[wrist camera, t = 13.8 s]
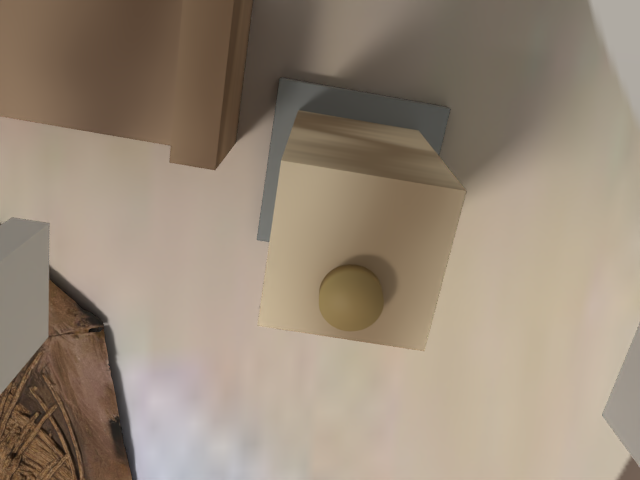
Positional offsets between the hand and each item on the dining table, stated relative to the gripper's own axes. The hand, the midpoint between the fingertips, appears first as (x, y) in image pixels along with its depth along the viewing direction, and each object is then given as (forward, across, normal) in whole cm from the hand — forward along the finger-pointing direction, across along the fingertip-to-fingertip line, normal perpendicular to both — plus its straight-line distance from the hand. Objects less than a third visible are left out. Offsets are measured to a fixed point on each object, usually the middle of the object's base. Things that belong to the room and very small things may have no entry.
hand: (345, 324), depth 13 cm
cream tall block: (+13, +1, 0) cm, 13 cm away
